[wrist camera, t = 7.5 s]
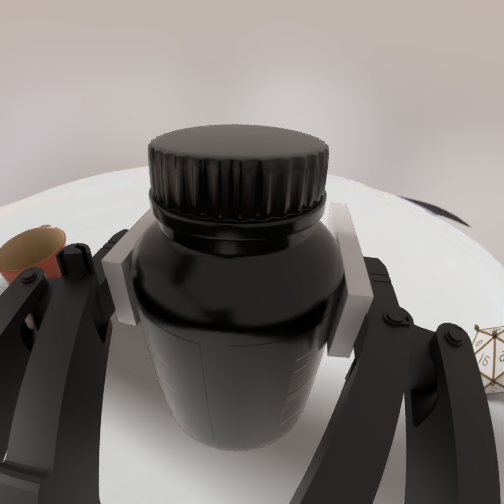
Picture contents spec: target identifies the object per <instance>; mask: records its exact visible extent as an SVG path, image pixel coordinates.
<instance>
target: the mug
mask: <svg viewBox="0 0 504 504" xmlns="http://www.w3.org/2000/svg"><path fill="white" fill-rule="evenodd" d="M65 246H66V235H65V233H64V232H63V231H62V230H61V229H59V228H56V227H51V226H50V225H43V226H40V227H39V228H34V229H31V230H27V231H25V232H23V233H21V234H19V235H17V236H15V237H13V238H12V239H10V240H9V241H8V242H6V243H5V244H4V245H3V246H2V247H1V248H0V274H1V275H2V276H3V278H4V279H5V280H6V282H7V283H8V284H9V285H10V284H11V283H12V282H13V281H14V279H15V278H16V277H17V276H18V275H19V274H20V273H21V272H22V271H24V270H26V269H27V268H30V267H40V268H43V270H44V271H45V274H46V277H47V278H59V277H61V272H60V269H59V266H58V263H57V260H56V256H55V254H56V253H57V252H58V251H59V250H60V249H62V248H63V247H65ZM25 321H26V323H27V324H28V325H29V327H31V326H32V324H33V322H32V320H31V318H30V316H29V315H28V316H27V318H26V319H25Z"/></svg>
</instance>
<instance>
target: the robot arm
mask: <svg viewBox="0 0 504 504" xmlns="http://www.w3.org/2000/svg"><path fill="white" fill-rule="evenodd" d="M154 219H155V217H154V215H153V214H152V211H151V208H150V209H149V210H148V211H147V212H146V213H145V214H144V215H143V216H142V217H141V218H140V219H139V220H138V221H137V222H136V223H135V224H134V225H133V226H132V228H131V229H130V230H127V229H124V230H122V231H120V232H118V233H116V234H114V235H113V236H112V237H111V238H110V240H109V241H108V243H106V244H105V245H104V246H103V248H101V249H100V250H99V251H98V252H97V253H96V254H95V255H94V256H93V257H92V255H91V251H90V248H89V246H88V245H86V244H83V243H75V244H70V245H68V246H65V247H63V248H62V249H60V250H59V251H58V252H57V253H56V254H55V256H56V260H57V263H58V266H59V269H60V272H61V277H59V278H47V277H46V274H45V271H44V270H43V268H40V267H30V268H27V269H26V270H24V271H22V272H21V273H20V274H19V275H18V276H17V277H16V278H15V279H14V281H13V282H12V283H11V284H10V285H9V286H8V288H7V289H6V290H5V291H4V292H3V294H2V295H1V296H0V504H101V503H100V500H99V446H100V427H101V413H102V402H103V392H104V383H105V374H106V366H107V359H108V352H109V345H110V339H111V333H112V322H111V319H110V317H111V316H112V314H113V313H114V311H115V312H116V315H117V318H118V322H121V323H125V324H129V325H133V326H137V324H138V322H139V321H140V319H139V315H138V312H137V308H136V304H135V300H134V296H133V292H132V287H131V281H130V274H129V267H130V259H131V255H132V252H133V249H134V246H135V244H136V242H137V240H138V238H139V236H140V234H141V233H142V232H143V230H144V229H145V228H146V226H147V225H148V224H149V223H150V222H151V221H152V220H154ZM326 227H327V229H328V230H329V231H330V232H331V234H332V235H333V237H334V238H335V240H336V242H337V244H338V246H339V249H340V252H341V255H342V259H343V265H344V278H343V284H342V288H341V294H340V298H339V302H338V305H337V309H336V312H335V316H334V319H333V323H332V326H331V330H330V333H329V336H328V340H327V353H328V356H333V357H347V358H349V357H350V355H351V352H352V350H353V348H354V354H355V358H354V361H353V363H352V365H351V367H350V369H349V371H348V373H347V375H346V377H345V379H346V381H345V384H344V386H343V389H342V392H341V394H340V397H339V399H338V402H337V404H336V407H335V409H334V412H333V414H332V417H331V419H330V421H329V424H328V426H327V428H326V431H325V433H324V435H323V437H322V440H321V442H320V444H319V446H318V448H317V450H316V453H315V455H314V457H313V459H312V461H311V463H310V465H309V467H308V469H307V471H306V473H305V475H304V477H303V479H302V481H301V483H300V485H299V487H298V489H297V490H296V492H295V494H294V496H293V498H292V500H291V501H290V503H289V504H372V503H373V500H374V498H375V495H376V492H377V489H378V487H379V484H380V481H381V478H382V475H383V472H384V469H385V465H386V462H387V459H388V455H389V452H390V448H391V445H392V441H393V437H394V434H395V430H396V426H397V422H398V417H399V413H400V408H401V404H402V399H403V394H404V398H405V416H406V487H405V504H501V502H500V482H499V470H498V461H497V453H496V445H495V439H494V432H493V427H492V421H491V416H490V411H489V406H488V402H487V397H486V393H485V389H484V385H483V381H482V377H481V373H480V370H479V366H478V363H477V359H476V356H475V353H474V349H473V346H472V343H471V340H470V338H469V336H468V334H467V333H466V332H465V331H464V330H463V329H462V328H461V327H459V326H457V325H455V324H452V323H443V324H441V325H439V327H438V328H437V330H436V332H433V331H430V330H427V329H424V328H421V327H419V326H416V325H414V322H413V318H412V317H411V315H410V314H409V313H408V312H407V311H406V310H405V309H403V308H401V307H399V304H398V301H397V297H396V294H395V291H394V288H393V286H392V284H391V280H390V277H389V274H388V271H387V269H386V266H385V265H384V264H383V263H382V262H381V261H380V260H379V259H378V258H371V257H363V255H362V252H361V248H360V245H359V242H358V238H357V235H356V232H355V228H354V225H353V222H352V219H351V216H350V213H349V210H348V207H347V204H343V203H336V202H331V203H330V209H329V214H328V220H327V225H326ZM28 315H29V316H30V318H31V320H32V322H33V324H32V326H31V327H30V328H29V327H28V326H27V324H26V322H25V319H26V318H27V316H28ZM6 452H7V455H6V458H5V460H4V457H5V454H6ZM3 460H4V462H3ZM2 462H3V463H2Z"/></svg>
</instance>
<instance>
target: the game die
mask: <svg viewBox="0 0 504 504" xmlns="http://www.w3.org/2000/svg"><path fill="white" fill-rule="evenodd" d="M474 329H475V330H476V331H477V334H476V336H475V339H474V341H473V343H472V346H473V349H474V353H475V356H476V359H477V363H478V366H479V370H480V373H481V377H482V381H483V385H484V389H485V393H486V394H493V393H503V392H504V326H501V327H495V328H489V329H482V330H479V327H478V325H475V328H474Z"/></svg>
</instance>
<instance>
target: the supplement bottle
mask: <svg viewBox="0 0 504 504" xmlns="http://www.w3.org/2000/svg"><path fill="white" fill-rule="evenodd" d="M328 159H329V148H328V145H326V144H325V142H324V141H322V140H319V138H316V137H314V136H311V135H309V134H305V133H302V132H298V131H294V130H289V129H283V128H277V127H269V126H258V125H238V124H236V125H235V124H232V125H209V126H199V127H192V128H185V129H181V130H176V131H172V132H169V133H165V134H163V135H161V136H158V137H156V138H155V139H153V140H151V143H150V144H149V145H148V161H149V173H150V183H151V187H150V190H149V200H150V207H151V211H152V214H153V215H154V217H155V219H154V220H152V221H151V222H150V223H149V224H148V225H147V226H146V228H145V229H144V230H143V232H142V233H141V234H140V236H139V238H138V240H137V242H136V244H135V246H134V249H133V252H132V255H131V259H130V267H129V274H130V281H131V287H132V292H133V296H134V300H135V304H136V308H137V312H138V315H139V319H140V323H141V326H142V330H143V333H144V336H145V340H146V343H147V346H148V349H149V353H150V356H151V359H152V362H153V365H154V368H155V371H156V374H157V377H158V380H159V383H160V386H161V388H162V391H163V394H164V397H165V399H166V402H167V404H168V406H169V409H170V411H171V413H172V415H173V417H174V418H175V420H176V422H177V423H178V424H179V426H180V427H181V428H182V429H183V430H184V431H185V432H186V433H187V434H189V435H190V436H191V437H193V438H194V439H196V440H197V441H199V442H201V443H203V444H205V445H208V446H210V447H213V448H217V449H221V450H227V451H247V450H253V449H257V448H261V447H264V446H266V445H269V444H271V443H273V442H275V441H277V440H278V439H280V438H281V437H283V436H284V435H285V434H286V433H288V432H289V431H290V430H291V429H292V427H293V426H294V425H295V424H296V422H297V421H298V419H299V418H300V416H301V414H302V412H303V409H304V407H305V404H306V402H307V399H308V397H309V394H310V391H311V388H312V385H313V382H314V380H315V377H316V374H317V371H318V368H319V365H320V362H321V359H322V355H323V352H324V349H325V346H326V343H327V340H328V336H329V333H330V330H331V326H332V323H333V319H334V316H335V312H336V309H337V305H338V302H339V298H340V294H341V288H342V284H343V278H344V265H343V259H342V255H341V252H340V249H339V246H338V244H337V242H336V240H335V238H334V237H333V235H332V234H331V232H330V231H329V230H328V229H327V227H326V226H325V225H324V224H323V223H322V222H321V221H320V219H321V217H322V215H323V213H324V209H325V204H326V196H327V195H326V191H325V184H326V177H327V169H328Z"/></svg>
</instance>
